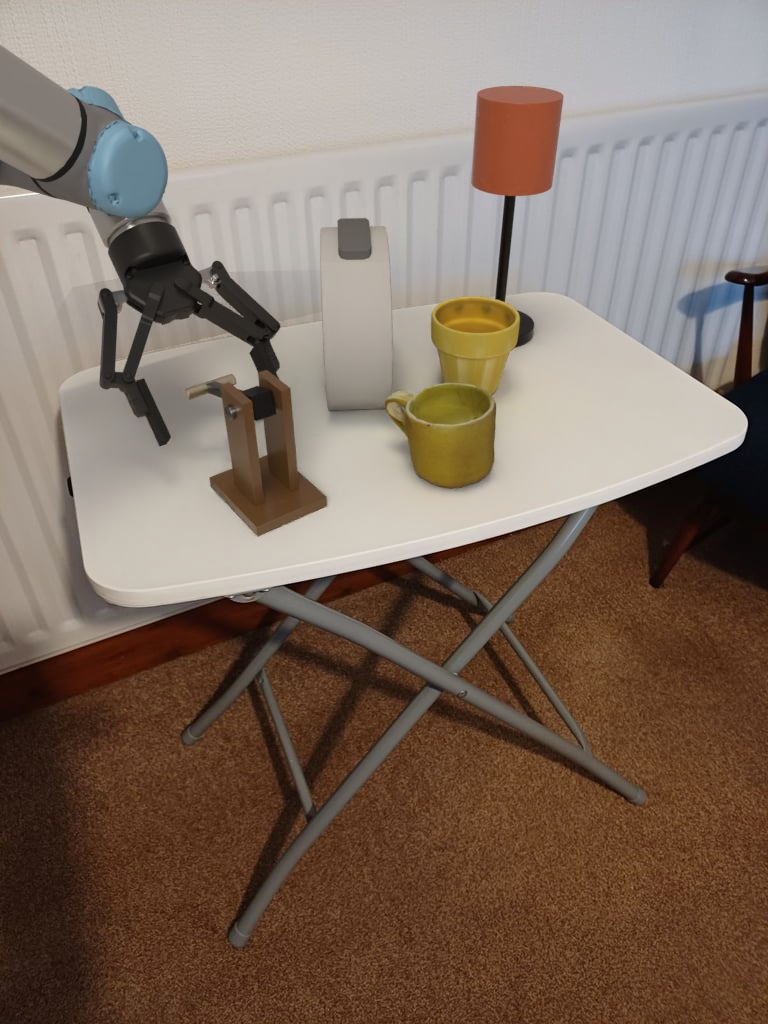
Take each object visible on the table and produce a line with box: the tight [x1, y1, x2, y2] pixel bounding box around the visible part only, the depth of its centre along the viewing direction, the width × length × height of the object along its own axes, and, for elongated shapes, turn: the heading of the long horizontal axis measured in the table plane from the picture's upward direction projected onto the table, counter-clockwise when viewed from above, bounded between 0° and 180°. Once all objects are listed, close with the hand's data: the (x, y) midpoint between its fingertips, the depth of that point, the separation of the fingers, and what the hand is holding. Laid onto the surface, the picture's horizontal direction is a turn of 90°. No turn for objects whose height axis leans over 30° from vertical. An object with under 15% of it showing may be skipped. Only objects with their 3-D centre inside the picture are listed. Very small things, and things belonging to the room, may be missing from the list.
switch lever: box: [183, 373, 276, 422], centre depth 78 cm, size 13×6×2 cm, turn 37°
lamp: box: [470, 85, 564, 348], centre depth 101 cm, size 10×10×30 cm
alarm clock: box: [319, 217, 394, 411], centre depth 93 cm, size 21×8×20 cm, turn 3°
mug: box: [384, 382, 497, 489], centre depth 83 cm, size 12×10×10 cm
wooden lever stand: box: [208, 370, 328, 537], centre depth 76 cm, size 10×8×13 cm
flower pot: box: [430, 296, 520, 395], centre depth 95 cm, size 10×10×10 cm
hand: (225, 421), depth 82 cm, fingers open, 13 cm apart
